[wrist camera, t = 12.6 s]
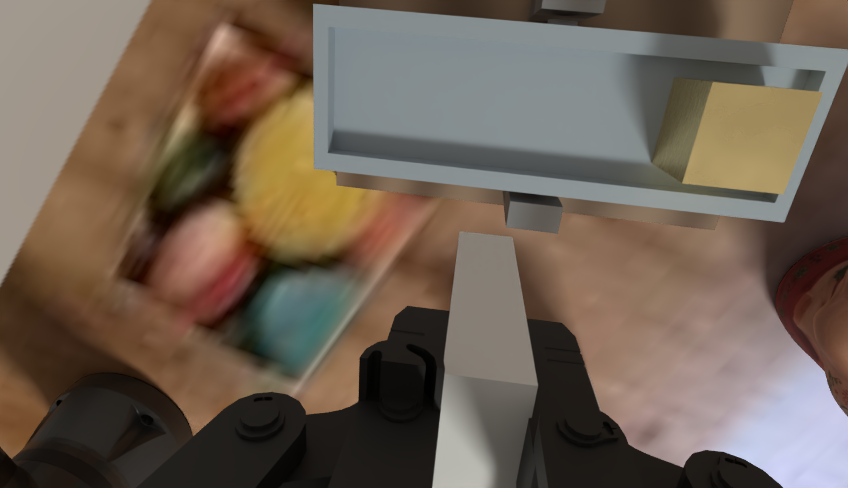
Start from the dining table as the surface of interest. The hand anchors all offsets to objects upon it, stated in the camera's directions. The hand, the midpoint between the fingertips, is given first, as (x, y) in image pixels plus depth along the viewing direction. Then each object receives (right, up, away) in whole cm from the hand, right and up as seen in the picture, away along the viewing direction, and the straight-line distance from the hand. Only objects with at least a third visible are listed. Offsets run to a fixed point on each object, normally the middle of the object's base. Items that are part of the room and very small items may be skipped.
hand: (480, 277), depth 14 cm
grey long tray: (+6, +10, +17) cm, 21 cm away
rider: (+13, +7, +11) cm, 19 cm away
